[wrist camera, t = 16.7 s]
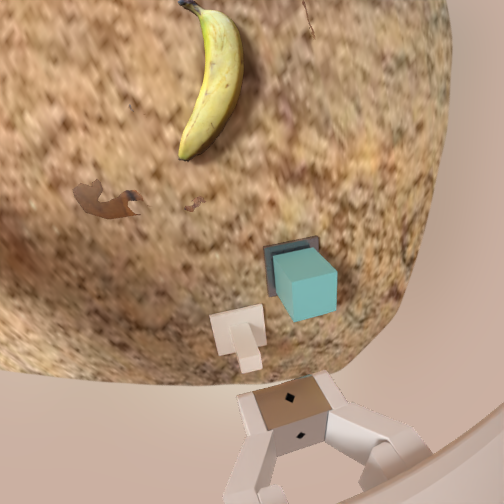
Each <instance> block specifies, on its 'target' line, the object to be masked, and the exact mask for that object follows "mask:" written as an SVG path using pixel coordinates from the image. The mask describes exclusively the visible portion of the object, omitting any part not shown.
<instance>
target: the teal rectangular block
mask: <svg viewBox="0 0 504 504" xmlns="http://www.w3.org/2000/svg"><path fill="white" fill-rule="evenodd" d="M273 262H274V273H275V285H276V293H277V295H278V296H279V298H280V300H281V301H282V303H283V305H284V307H285V308H286V310H287V312H288V313H289V315H290V317H291V318H292V320H293V322H297V321H301V320H304V319H308V318H312V317H315V316H319V315H323V314H326V313H330V312H333V311H336V301H337V271H336V270H335V269H334V268H333V267H332V266H331V265H330V264H329V263H328V262H327V261H326V260H325V259H324V258H323V257H322V256H321V255H320V254H319V253H318V252H317V251H316V250H315V249H314V248H313V247H312V248H308V249H303V250H298V251H293V252H289V253H284V254H279V255H275V256H273Z"/></svg>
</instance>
